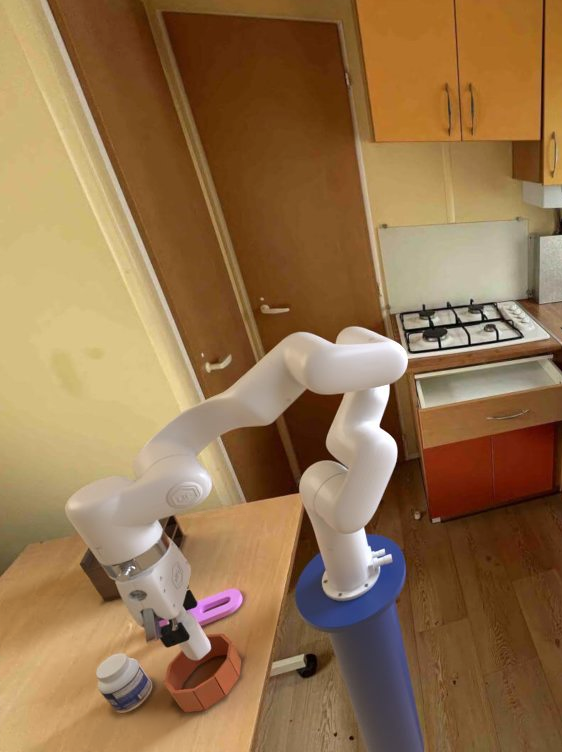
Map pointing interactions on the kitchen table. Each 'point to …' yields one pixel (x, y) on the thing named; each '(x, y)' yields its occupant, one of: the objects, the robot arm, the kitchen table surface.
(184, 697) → the holder cup
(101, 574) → the shelf
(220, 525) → the kitchen table surface
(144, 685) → the pill bottle
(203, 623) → the bracket
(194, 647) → the eye dropper bottle
